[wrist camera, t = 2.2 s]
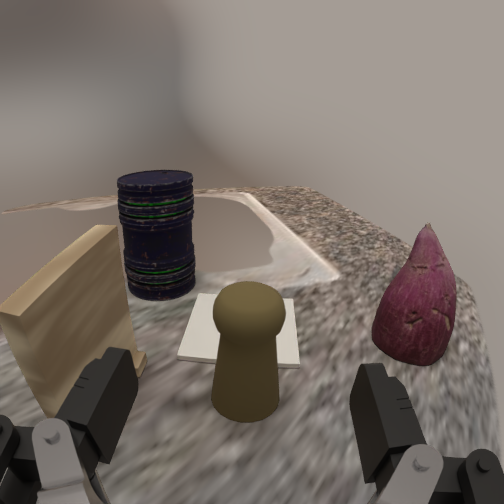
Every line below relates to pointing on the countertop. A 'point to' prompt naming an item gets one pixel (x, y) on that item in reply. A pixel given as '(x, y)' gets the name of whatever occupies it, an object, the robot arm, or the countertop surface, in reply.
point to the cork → (247, 351)
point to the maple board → (70, 316)
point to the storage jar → (157, 233)
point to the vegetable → (418, 305)
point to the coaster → (207, 337)
